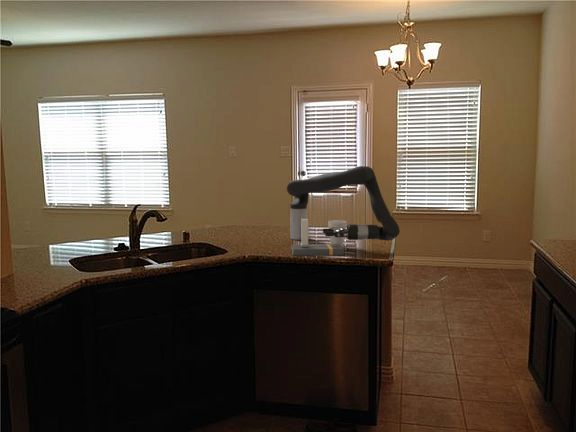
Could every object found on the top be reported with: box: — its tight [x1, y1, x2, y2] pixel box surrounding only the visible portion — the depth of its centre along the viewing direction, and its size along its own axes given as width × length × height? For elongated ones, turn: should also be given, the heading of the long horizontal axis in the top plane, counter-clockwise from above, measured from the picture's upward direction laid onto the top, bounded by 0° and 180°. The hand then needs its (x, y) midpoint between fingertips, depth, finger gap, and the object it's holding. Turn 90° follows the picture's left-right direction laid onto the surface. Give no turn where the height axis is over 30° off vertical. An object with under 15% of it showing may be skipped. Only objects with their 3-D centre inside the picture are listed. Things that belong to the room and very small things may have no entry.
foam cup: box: [327, 219, 348, 248], centre depth 244 cm, size 10×9×13 cm
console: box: [291, 243, 345, 257], centre depth 229 cm, size 24×12×3 cm, turn 93°
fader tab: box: [300, 218, 310, 247], centre depth 228 cm, size 4×4×13 cm
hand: (324, 232), depth 228 cm, fingers open, 8 cm apart
